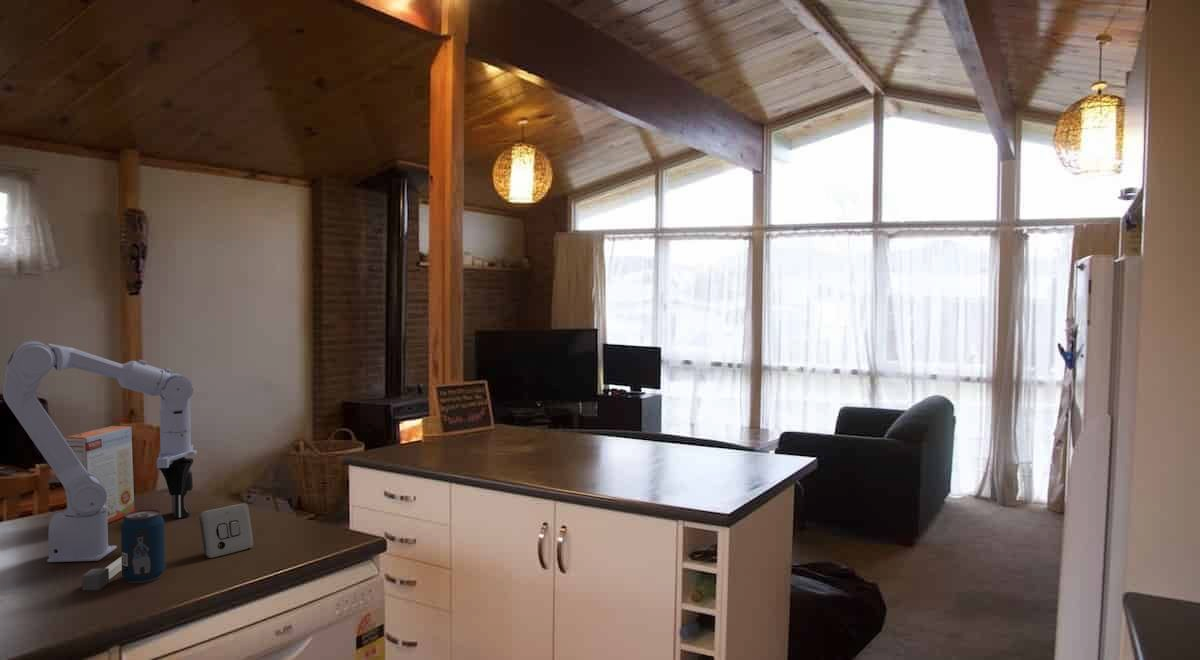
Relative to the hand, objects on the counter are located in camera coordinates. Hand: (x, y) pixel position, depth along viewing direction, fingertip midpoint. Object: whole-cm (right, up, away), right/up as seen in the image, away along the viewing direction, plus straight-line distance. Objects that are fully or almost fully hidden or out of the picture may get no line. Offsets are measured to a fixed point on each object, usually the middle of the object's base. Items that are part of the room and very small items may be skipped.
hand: (176, 494), depth 167 cm
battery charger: (-9, -9, +19) cm, 23 cm away
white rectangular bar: (-2, -11, -16) cm, 19 cm away
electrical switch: (+13, -11, -6) cm, 18 cm away
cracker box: (-24, -9, +13) cm, 29 cm away
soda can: (+5, -11, -21) cm, 24 cm away
